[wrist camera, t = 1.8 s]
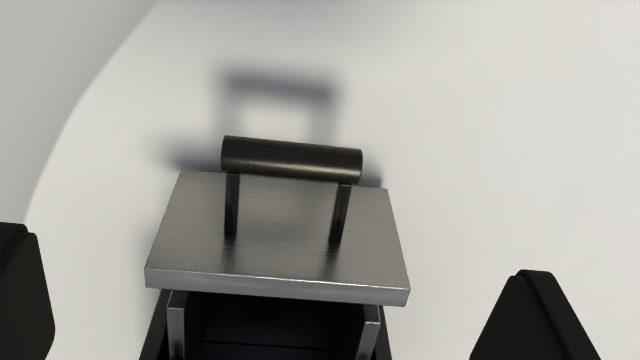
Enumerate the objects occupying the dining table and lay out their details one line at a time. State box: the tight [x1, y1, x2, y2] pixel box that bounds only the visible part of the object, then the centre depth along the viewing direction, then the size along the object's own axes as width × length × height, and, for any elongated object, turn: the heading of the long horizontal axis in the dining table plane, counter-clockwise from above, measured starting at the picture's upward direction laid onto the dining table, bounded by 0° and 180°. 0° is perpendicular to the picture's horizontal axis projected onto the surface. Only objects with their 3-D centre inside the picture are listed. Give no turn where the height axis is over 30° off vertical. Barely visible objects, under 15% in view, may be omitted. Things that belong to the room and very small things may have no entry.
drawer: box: [144, 135, 411, 360], centre depth 28 cm, size 19×12×8 cm, turn 172°
